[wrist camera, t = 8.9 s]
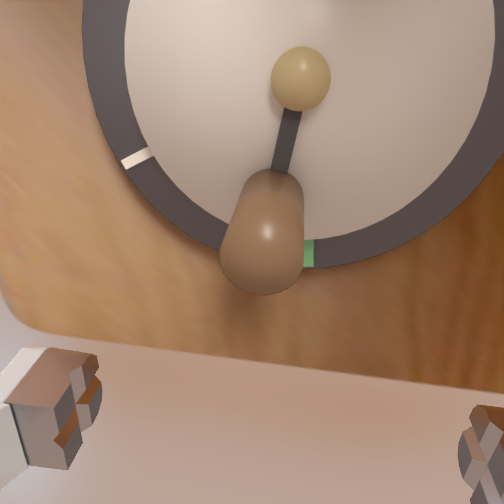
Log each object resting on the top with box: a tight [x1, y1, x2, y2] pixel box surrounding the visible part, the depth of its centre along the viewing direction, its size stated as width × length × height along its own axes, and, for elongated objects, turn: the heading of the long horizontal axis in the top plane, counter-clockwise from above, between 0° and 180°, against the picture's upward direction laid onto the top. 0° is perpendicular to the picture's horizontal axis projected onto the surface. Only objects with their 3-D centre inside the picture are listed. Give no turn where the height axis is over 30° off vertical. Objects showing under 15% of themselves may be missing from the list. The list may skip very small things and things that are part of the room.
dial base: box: [82, 0, 504, 269], centre depth 20 cm, size 20×20×2 cm
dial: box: [124, 0, 495, 295], centre depth 17 cm, size 17×15×7 cm
